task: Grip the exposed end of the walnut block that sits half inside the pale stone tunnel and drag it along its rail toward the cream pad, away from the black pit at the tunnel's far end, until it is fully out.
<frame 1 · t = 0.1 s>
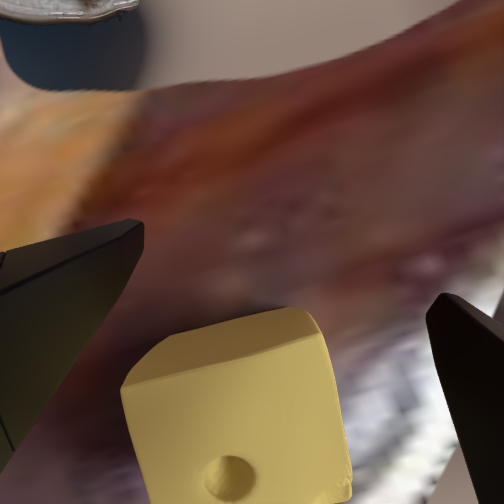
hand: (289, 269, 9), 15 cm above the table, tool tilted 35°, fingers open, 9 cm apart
cheese: (243, 377, 24), on the table
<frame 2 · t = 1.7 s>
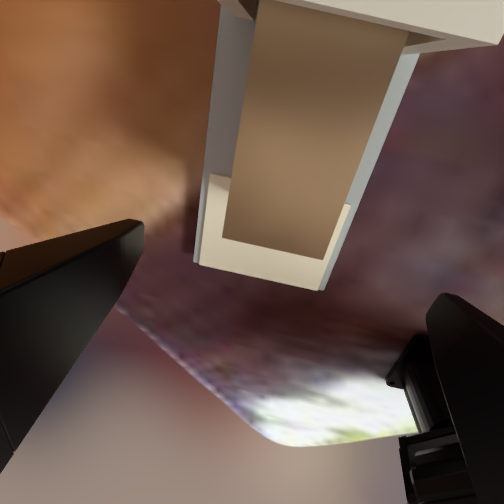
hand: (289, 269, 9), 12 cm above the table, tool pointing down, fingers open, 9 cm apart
walnut block: (311, 84, 13), point 4 cm above the table, slide at 0.0 cm
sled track: (297, 118, 18), on the table
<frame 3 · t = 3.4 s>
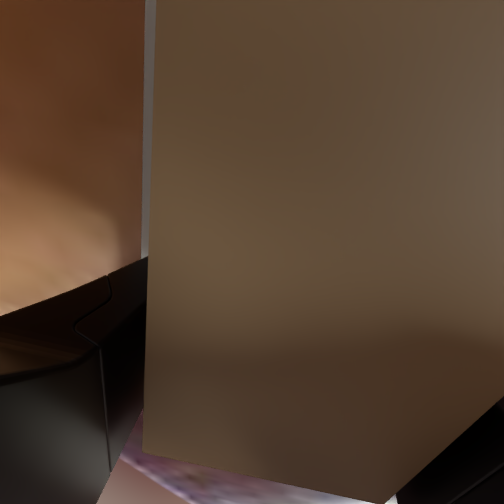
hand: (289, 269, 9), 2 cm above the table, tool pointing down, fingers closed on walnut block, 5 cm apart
walnut block: (375, 86, 5), point 4 cm above the table, slide at 0.0 cm, touching gripper
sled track: (316, 150, 9), on the table
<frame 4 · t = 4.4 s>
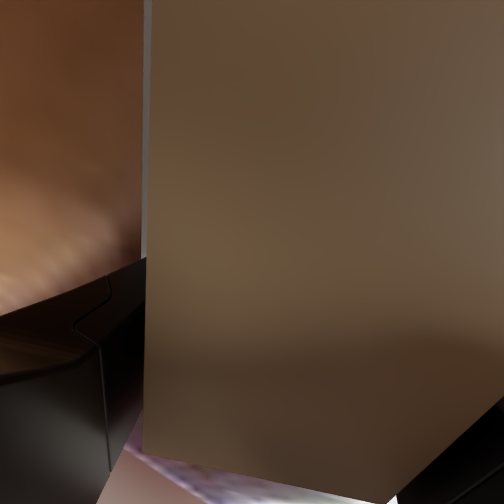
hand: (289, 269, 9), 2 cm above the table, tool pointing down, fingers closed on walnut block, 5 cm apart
walnut block: (374, 84, 5), point 4 cm above the table, slide at 1.9 cm, touching gripper
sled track: (337, 80, 8), on the table
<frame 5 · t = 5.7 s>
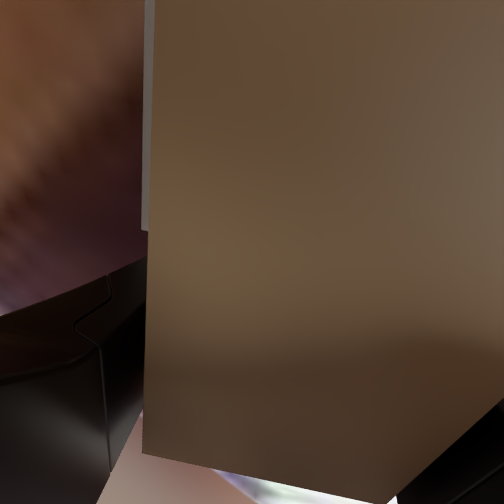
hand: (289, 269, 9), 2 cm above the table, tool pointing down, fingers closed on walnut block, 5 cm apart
walnut block: (375, 84, 5), point 4 cm above the table, slide at 7.4 cm, touching gripper
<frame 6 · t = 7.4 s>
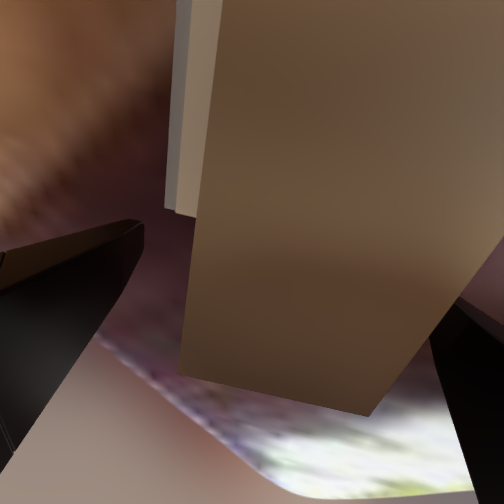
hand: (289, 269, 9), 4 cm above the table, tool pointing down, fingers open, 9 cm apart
walnut block: (359, 82, 6), point 4 cm above the table, slide at 7.4 cm
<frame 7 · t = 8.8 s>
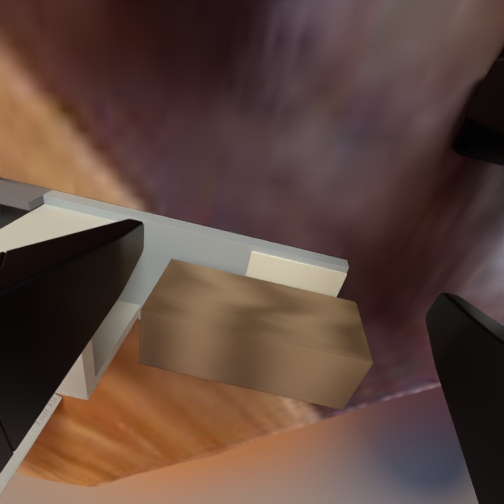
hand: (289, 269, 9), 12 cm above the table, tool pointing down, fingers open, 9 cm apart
walnut block: (253, 331, 22), point 4 cm above the table, slide at 7.4 cm
skincare box: (26, 386, 36), on the table
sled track: (193, 278, 25), on the table
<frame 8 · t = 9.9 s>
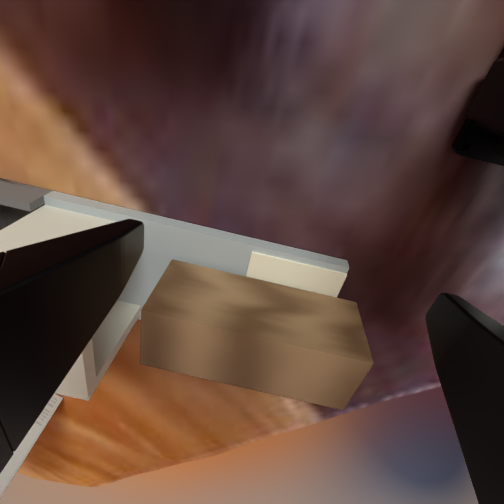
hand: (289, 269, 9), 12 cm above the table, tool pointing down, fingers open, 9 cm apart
walnut block: (254, 331, 22), point 4 cm above the table, slide at 7.4 cm
skincare box: (27, 387, 36), on the table
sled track: (194, 279, 25), on the table
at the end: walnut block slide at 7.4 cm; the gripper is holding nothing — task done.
